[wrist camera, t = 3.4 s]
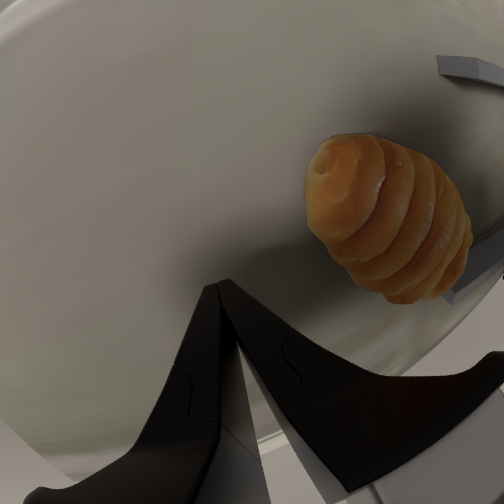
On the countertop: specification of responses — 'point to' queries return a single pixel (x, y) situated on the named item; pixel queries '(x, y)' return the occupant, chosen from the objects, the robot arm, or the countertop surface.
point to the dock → (500, 243)
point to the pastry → (387, 216)
